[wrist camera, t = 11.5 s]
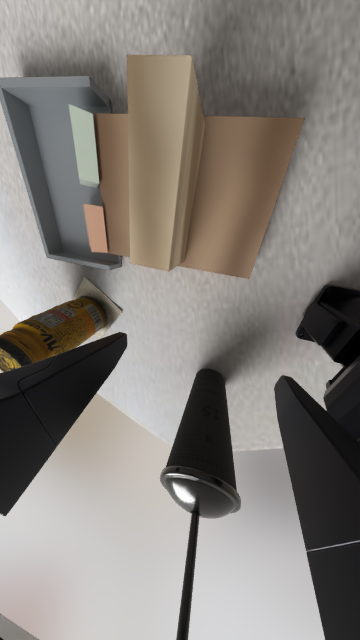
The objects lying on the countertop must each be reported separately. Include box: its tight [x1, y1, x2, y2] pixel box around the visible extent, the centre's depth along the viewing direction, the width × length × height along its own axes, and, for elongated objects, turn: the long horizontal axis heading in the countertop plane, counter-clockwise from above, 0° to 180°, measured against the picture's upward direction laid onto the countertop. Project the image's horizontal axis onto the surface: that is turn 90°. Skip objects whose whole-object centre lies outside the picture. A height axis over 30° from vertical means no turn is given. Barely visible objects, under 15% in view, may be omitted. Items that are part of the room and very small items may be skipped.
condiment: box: [0, 277, 122, 372], centre depth 21 cm, size 7×8×12 cm
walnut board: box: [92, 113, 305, 279], centre depth 15 cm, size 15×10×3 cm, turn 82°
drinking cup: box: [160, 369, 241, 640], centre depth 18 cm, size 8×8×20 cm
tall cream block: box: [127, 55, 205, 272], centre depth 11 cm, size 3×9×5 cm, turn 171°
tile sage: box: [69, 104, 99, 188], centre depth 14 cm, size 4×4×2 cm
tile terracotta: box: [83, 204, 108, 253], centre depth 17 cm, size 4×4×2 cm
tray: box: [0, 76, 122, 270], centre depth 17 cm, size 9×14×2 cm, turn 172°
